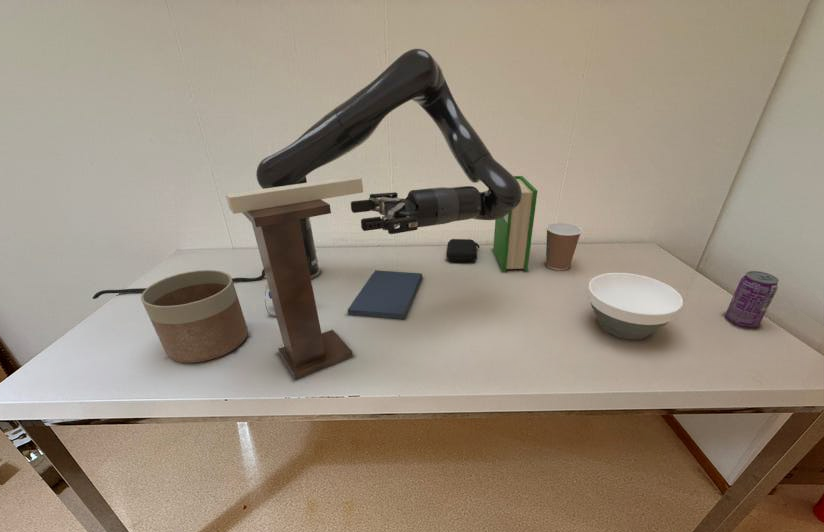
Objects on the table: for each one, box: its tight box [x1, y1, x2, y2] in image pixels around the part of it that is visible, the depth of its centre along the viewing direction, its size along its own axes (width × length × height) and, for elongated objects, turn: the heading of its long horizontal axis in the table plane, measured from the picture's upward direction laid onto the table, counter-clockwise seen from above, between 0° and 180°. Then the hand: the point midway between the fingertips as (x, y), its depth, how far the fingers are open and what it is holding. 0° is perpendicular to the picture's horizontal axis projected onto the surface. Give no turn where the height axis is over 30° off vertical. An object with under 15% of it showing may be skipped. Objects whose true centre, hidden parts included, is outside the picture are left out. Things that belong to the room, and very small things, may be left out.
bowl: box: [587, 272, 684, 340], centre depth 89 cm, size 20×20×10 cm
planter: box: [140, 269, 249, 363], centre depth 82 cm, size 16×16×14 cm
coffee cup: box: [545, 222, 583, 271], centre depth 118 cm, size 10×10×12 cm
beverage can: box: [724, 270, 780, 328], centre depth 91 cm, size 7×7×12 cm
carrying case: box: [445, 238, 480, 263], centre depth 127 cm, size 11×3×15 cm
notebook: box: [347, 269, 423, 320], centre depth 104 cm, size 14×22×2 cm, turn 172°
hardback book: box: [492, 175, 538, 273], centre depth 118 cm, size 18×7×24 cm, turn 4°
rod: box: [225, 175, 364, 215], centre depth 66 cm, size 22×2×2 cm, turn 127°
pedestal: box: [242, 199, 354, 381], centre depth 73 cm, size 12×10×32 cm
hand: (356, 215), depth 76 cm, fingers open, 8 cm apart
